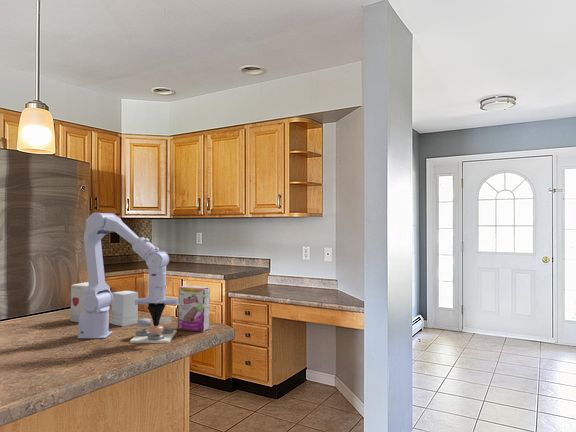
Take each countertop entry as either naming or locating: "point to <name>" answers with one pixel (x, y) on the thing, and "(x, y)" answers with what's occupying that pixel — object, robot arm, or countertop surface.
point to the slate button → (143, 322)
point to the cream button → (165, 320)
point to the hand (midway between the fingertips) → (156, 325)
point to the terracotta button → (156, 329)
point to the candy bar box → (193, 308)
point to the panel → (153, 336)
